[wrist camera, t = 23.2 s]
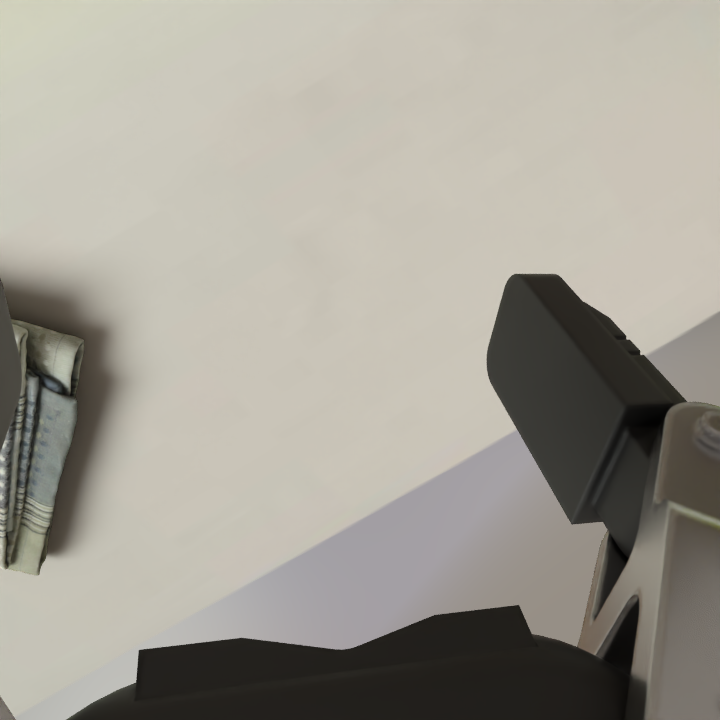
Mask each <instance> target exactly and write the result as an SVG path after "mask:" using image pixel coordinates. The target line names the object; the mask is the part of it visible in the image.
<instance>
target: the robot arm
mask: <svg viewBox="0 0 720 720" xmlns="http://www.w3.org/2000/svg"><path fill="white" fill-rule="evenodd" d="M487 371H488V376H489V379H490V382H491V384H492V386H493V388H494V390H495V391H496V393H497V395H498V397H499V398H500V400H501V402H502V404H503V405H504V407H505V409H506V411H507V412H508V414H509V416H510V418H511V419H512V421H513V423H514V424H515V426H516V428H517V430H518V431H519V433H520V435H521V437H522V438H523V440H524V442H525V444H526V445H527V447H528V449H529V451H530V452H531V454H532V456H533V458H534V459H535V461H536V463H537V465H538V466H539V468H540V470H541V472H542V473H543V475H544V477H545V479H546V480H547V482H548V484H549V485H550V487H551V489H552V491H553V493H554V494H555V496H556V498H557V500H558V501H559V503H560V505H561V507H562V508H563V510H564V512H565V514H566V515H567V517H568V519H569V520H570V522H571V524H582V523H593V522H604V524H605V526H606V528H607V529H608V530H607V532H606V534H605V536H604V538H603V540H602V542H601V545H600V548H599V553H598V558H597V563H596V567H595V571H594V576H593V581H592V585H591V590H590V595H589V599H588V603H587V608H586V613H585V617H584V622H583V627H582V631H581V635H580V639H579V642H578V646H577V647H576V646H573V645H570V644H567V643H565V642H562V641H559V640H555V639H551V638H548V637H544V636H539V635H533V634H531V632H530V629H529V627H528V625H527V623H526V620H525V618H524V616H523V613H522V611H521V609H520V607H519V605H516V606H507V607H500V608H490V609H482V610H474V611H465V612H457V613H449V614H440V615H434V616H431V617H429V618H426V619H424V620H422V621H419V622H417V623H414V624H411V625H409V626H407V627H404V628H402V629H399V630H397V631H394V632H392V633H389V634H387V635H384V636H382V637H379V638H377V639H374V640H372V641H370V642H367V643H364V644H362V645H360V646H357V647H354V648H351V649H345V650H335V649H326V648H318V647H311V646H302V645H295V644H287V643H279V642H271V641H261V640H254V639H246V638H238V639H229V640H221V641H212V642H203V643H195V644H186V645H179V646H170V647H161V648H153V649H144V650H139V656H138V668H137V680H136V683H134V684H131V685H129V686H127V687H124V688H121V689H119V690H117V691H115V692H113V693H111V694H109V695H107V696H105V697H103V698H101V699H99V700H97V701H95V702H93V703H91V704H90V705H88V706H87V707H85V708H84V709H82V710H81V711H79V712H77V713H76V714H75V715H73V716H71V717H70V718H68V719H67V720H720V407H719V406H715V405H712V404H707V403H701V402H687V401H686V400H685V399H684V398H683V397H682V396H681V395H680V393H679V392H678V391H677V390H676V389H675V388H674V387H673V386H672V385H671V384H670V383H669V382H668V380H666V378H665V377H664V376H663V375H662V374H661V373H660V372H659V371H658V370H657V369H656V368H655V366H654V365H653V364H652V363H651V362H650V361H649V360H648V359H647V358H646V357H645V356H644V355H640V350H639V349H638V348H637V347H636V346H635V345H634V344H633V343H632V342H631V341H630V340H626V335H625V334H624V333H623V332H622V331H621V330H620V329H619V328H618V327H617V325H616V324H615V323H614V322H613V321H612V320H611V319H610V318H609V317H607V316H606V315H604V314H603V313H601V312H599V311H598V310H596V309H595V308H593V307H591V306H590V305H588V304H587V303H585V302H583V301H582V300H581V299H580V298H579V297H578V296H577V295H576V294H575V293H574V291H573V290H572V289H571V288H570V287H569V286H568V285H567V284H566V283H565V281H564V280H563V279H562V278H561V277H560V276H558V275H556V274H514V275H512V276H511V277H510V278H509V279H508V281H507V283H506V285H505V288H504V292H503V296H502V299H501V303H500V306H499V310H498V314H497V317H496V321H495V325H494V328H493V332H492V335H491V339H490V343H489V346H488V351H487ZM21 385H22V369H21V360H20V355H19V351H18V347H17V343H16V339H15V334H14V330H13V326H12V322H11V318H10V313H9V309H8V305H7V301H6V297H5V293H4V288H3V285H2V282H1V279H0V452H1V449H2V447H3V444H4V441H5V438H6V435H7V432H8V429H9V427H10V424H11V421H12V418H13V415H14V412H15V409H16V407H17V404H18V401H19V397H20V393H21ZM0 720H16V719H15V718H14V716H13V715H12V713H11V712H10V710H9V709H8V707H7V706H6V704H5V703H4V701H3V700H2V698H1V697H0Z"/></svg>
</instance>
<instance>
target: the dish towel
mask: <svg viewBox="0 0 720 720" xmlns="http://www.w3.org/2000/svg"><path fill="white" fill-rule="evenodd" d="M11 322H12V326H13V330H14V334H15V339H16V343H17V347H18V351H19V355H20V360H21V369H22V385H21V393H20V397H19V401H18V404H17V407H16V409H15V412H14V415H13V418H12V421H11V424H10V427H9V429H8V432H7V435H6V438H5V441H4V444H3V447H2V449H1V452H0V568H1V569H5V570H6V569H11V570H13V571H21V572H24V573H27V574H32V575H39V573H40V569H41V566H42V564H43V562H44V561H45V559H46V554H47V547H48V537H49V533H50V529H51V525H52V518H53V512H54V504H55V495H56V493H57V490H58V485H59V480H60V477H61V474H62V472H63V468H64V463H65V460H66V457H67V454H68V451H69V448H70V446H71V442H72V438H73V434H74V429H75V425H76V423H77V402H78V401H77V400H76V399H75V396H76V391H77V386H78V382H79V374H80V367H81V362H82V358H83V354H84V340H83V339H81V338H78V337H75V336H72V335H67V334H62V333H59V332H56V331H53V330H50V329H47V328H43V327H40V326H37V325H33V324H30V323H26V322H24V321H21V320H13V319H11Z"/></svg>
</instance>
